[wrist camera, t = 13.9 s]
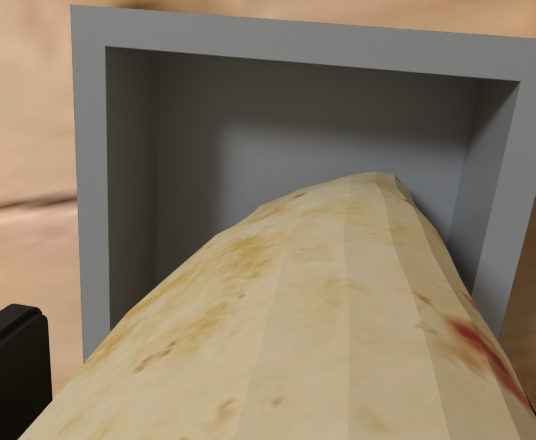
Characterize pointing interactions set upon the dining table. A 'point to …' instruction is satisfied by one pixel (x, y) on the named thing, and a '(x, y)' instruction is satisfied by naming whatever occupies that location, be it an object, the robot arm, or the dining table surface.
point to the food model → (303, 336)
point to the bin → (289, 139)
